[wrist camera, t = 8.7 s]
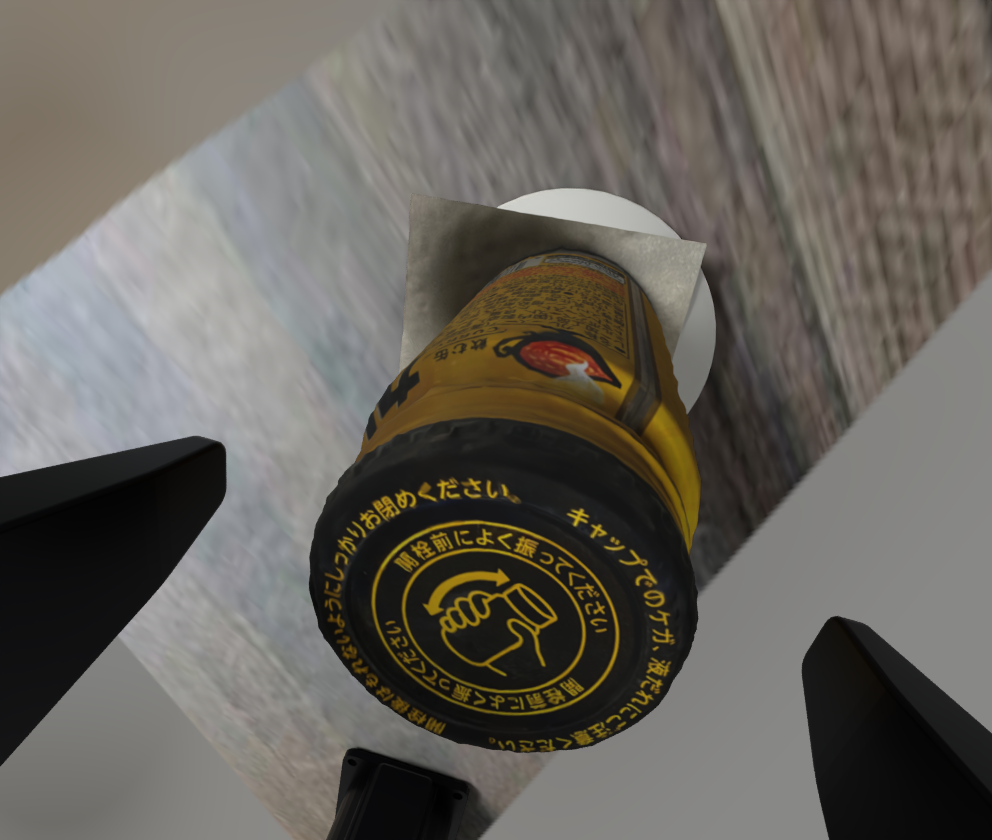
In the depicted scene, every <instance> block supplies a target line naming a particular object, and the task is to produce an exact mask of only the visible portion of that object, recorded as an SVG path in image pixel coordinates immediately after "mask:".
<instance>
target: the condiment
mask: <svg viewBox="0 0 992 840" xmlns="http://www.w3.org/2000/svg"><path fill="white" fill-rule="evenodd" d="M409 221H410V232H409V243H408V261H407V275H406V296H405V307H404V319H403V329H404V333H403V338H402V346H401V357H400V374H399V375H398V376H397V378H396V379H395V380H394V382H393V383H391V384H390V385H389V386H388V388H387V390H386V391H385V393H384V394H383V396H382V398H381V399H380V400H379V402H378V403H377V405H376V407H375V410H374V411H373V412H372V413H371V415H370V417H369V420H368V424H367V427H366V430H365V433H364V437H363V442H362V448H361V452H360V453H359V455H358V457H357V459H356V461H355V463H354V464H353V465H352V466H350V467H349V468H348V469H347V470H346V471H345V472H344V474H343V475H342V476H341V477H340V478H339V480H338V486H337V487H336V488H335V489H334V490H333V491H332V492H331V493H330V494H329V496H328V497H327V499H326V504H325V505H324V508H323V512H322V514H321V515H320V517H319V518H318V521H317V523H316V527H315V530H314V539H313V541H312V545H311V551H310V557H309V558H310V578H309V591H310V595H311V599H312V602H313V606H314V610H315V613H316V616H317V619H318V627H319V629H320V631H321V632H322V634H323V637H324V639H325V640H326V641H327V642H328V643H329V644H330V646H331V647H332V649H333V650H334V652H335V653H336V655H337V656H338V657H339V659H340V660H341V661H342V663H343V664H344V665H345V667H346V668H347V669H348V670H349V672H350V673H351V675H352V676H354V677H355V678H356V679H357V680H358V681H359V682H360V683H361V684H362V685H363V686H364V687H365V688H366V690H367V691H368V692H369V693H370V694H371V695H373V696H374V697H376V698H377V699H378V700H379V701H380V702H381V703H382V704H383V705H386V706H388V707H389V708H390V709H392V710H393V711H394V712H395V713H397V714H399V715H400V716H402V717H403V718H405V719H406V720H408V721H409V722H411V723H413V724H415V725H416V726H418V727H421V728H424V729H426V730H428V731H430V732H432V733H434V734H436V735H438V736H441V737H444V738H446V739H449V740H452V741H454V742H456V743H458V744H469V745H473V746H478V747H482V748H486V749H491V750H503V751H506V750H509V751H513V752H516V753H522V752H525V753H530V752H551V751H556V750H572V749H579V748H583V747H588V746H593V745H595V744H597V743H599V742H601V741H603V740H605V739H608V738H609V737H612V736H614V735H616V734H618V733H620V732H622V731H624V730H626V729H628V728H629V727H631V726H632V725H634V724H636V723H637V722H639V721H640V720H641V719H643V718H644V717H645V716H646V715H648V714H649V713H650V712H651V711H652V710H654V709H655V708H656V707H657V706H658V705H659V704H660V702H661V701H662V700H663V698H664V697H665V695H666V694H667V692H668V691H669V688H670V686H671V684H672V682H673V680H674V679H675V677H676V676H677V674H678V673H679V671H680V670H681V669H682V666H683V663H684V661H685V660H686V658H687V657H688V654H689V652H690V649H691V647H692V642H693V641H694V634H695V632H696V630H697V622H698V611H697V595H698V591H697V588H696V585H695V577H694V571H693V568H692V565H691V561H690V549H691V547H692V539H693V535H694V532H695V530H696V526H697V523H698V511H699V506H700V500H701V477H700V473H699V470H698V465H697V461H696V455H695V451H694V439H693V436H692V433H691V431H690V429H689V427H688V426H689V418H688V416H687V414H686V408H685V405H684V403H683V402H682V400H681V399H680V396H679V394H678V380H677V379H676V377H675V376H674V374H673V368H674V366H673V364H672V360H673V356H674V353H675V349H676V346H677V343H678V339H679V336H680V332H681V329H682V326H683V322H684V319H685V316H686V313H687V310H688V307H689V303H690V299H691V297H692V293H693V290H694V286H695V283H696V280H697V277H698V273H699V270H700V266H701V263H702V259H703V256H704V252H705V249H706V245H707V244H705V243H699V242H693V241H687V240H682V239H676V238H670V237H664V236H659V235H653V234H648V233H642V232H636V231H628V230H623V229H618V228H613V227H607V226H601V225H596V224H589V223H583V222H578V221H572V220H565V219H559V218H554V217H547V216H541V215H534V214H528V213H520V212H516V211H511V210H506V209H500V208H494V207H488V206H483V205H478V204H471V203H464V202H458V201H450V200H445V199H439V198H434V197H428V196H422V195H416V194H411V200H410V216H409Z"/></svg>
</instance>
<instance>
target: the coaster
mask: <svg viewBox="0 0 992 840" xmlns="http://www.w3.org/2000/svg"><path fill="white" fill-rule="evenodd" d="M497 208H500V209H506V210H511V211H516V212H520V213H528V214H534V215H541V216H547V217H554V218H559V219H565V220H572V221H578V222H583V223H589V224H596V225H601V226H607V227H613V228H618V229H623V230H628V231H636V232H642V233H648V234H653V235H659V236H664V237H670V238H676V239H681V238H680V237H679V236H678V235H677V234H676V232H675V231H674V230H673V229H672V228H670V227H669V226H668V225H667V224H666V223H665V222H664V221H663V220H662V219H660V218H659V217H658V216H656V215H655V214H653V213H652V212H650V211H649V210H647V209H646V208H644V207H643V206H641V205H639V204H637V203H635V202H633V201H631V200H628V199H626V198H624V197H621V196H618V195H615V194H612V193H608V192H605V191H600V190H594V189H587V188H557V189H549V190H542V191H538V192H535V193H531V194H527V195H524V196H521V197H519V198H517V199H514V200H512V201H510V202H507V203H505V204H503V205H501V206H499V207H497ZM715 339H716V321H715V312H714V304H713V301H712V297H711V293H710V289H709V286H708V283H707V281H706V279H705V276H704V274H703V272H702V269H701V267H700V270H699V273H698V277H697V280H696V283H695V286H694V290H693V293H692V297H691V299H690V303H689V307H688V310H687V313H686V316H685V319H684V322H683V326H682V329H681V332H680V336H679V339H678V343H677V346H676V349H675V353H674V356H673V360H672V364H673V366H674V368H673V374H674V376H675V377H676V379H677V380H678V394H679V396H680V399H681V400H682V402H683V403H684V405H685V408H686V414H688V413H689V411H690V410H691V408H692V407H693V405H694V404H695V402H696V401H697V399H698V397H699V395H700V393H701V391H702V389H703V387H704V385H705V383H706V380H707V377H708V374H709V371H710V368H711V365H712V361H713V355H714V349H715Z"/></svg>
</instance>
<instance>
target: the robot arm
mask: <svg viewBox="0 0 992 840" xmlns="http://www.w3.org/2000/svg"><path fill="white" fill-rule="evenodd" d="M225 493H226V449H225V446H224V445H223V444H222V443H221V442H219V441H215V440H212V439H208V438H205V437H201V436H191V437H187V438H182V439H177V440H172V441H168V442H163V443H158V444H154V445H149V446H144V447H140V448H135V449H130V450H126V451H121V452H116V453H112V454H107V455H102V456H97V457H93V458H88V459H83V460H79V461H74V462H69V463H65V464H60V465H55V466H51V467H46V468H41V469H37V470H32V471H27V472H22V473H18V474H13V475H8V476H4V477H0V766H1V765H2V764H3V763H4V762H5V761H6V760H7V758H8V757H9V756H10V755H11V754H12V753H13V752H14V751H15V749H16V748H17V747H18V746H19V745H20V744H21V743H22V742H23V740H24V739H25V738H26V737H27V736H28V735H29V734H30V733H31V732H32V730H33V729H34V728H35V727H36V726H37V725H38V724H39V723H40V721H41V720H42V719H43V718H44V717H45V716H46V715H47V714H48V713H49V711H50V710H51V709H52V708H53V707H54V706H55V705H56V704H57V702H58V701H59V700H60V699H61V698H62V696H64V694H65V693H66V692H67V691H68V690H69V689H70V688H71V687H72V686H73V685H74V683H75V682H76V681H77V680H78V679H79V678H80V677H81V676H82V674H83V673H84V672H85V671H86V670H87V669H88V668H89V667H90V665H91V664H92V663H93V662H94V661H95V660H96V659H97V658H98V657H99V655H100V654H101V653H102V652H103V651H104V650H105V649H106V648H107V646H108V645H109V644H110V643H111V642H112V641H113V639H114V638H115V637H116V636H117V635H118V634H119V633H120V632H121V631H122V630H123V629H124V627H125V626H126V625H127V624H128V623H129V622H130V621H131V620H132V618H133V617H134V616H135V615H136V614H137V613H138V612H139V611H140V609H141V608H142V607H143V606H144V605H145V604H146V603H147V602H148V600H149V599H150V598H151V597H152V596H153V595H154V594H155V592H156V591H157V590H158V589H159V588H160V587H161V585H162V584H163V583H164V582H165V580H166V579H167V578H168V576H169V575H170V574H171V573H172V571H173V570H174V569H175V567H176V566H177V564H178V563H179V562H180V560H181V559H182V557H183V556H184V555H185V553H186V552H187V551H188V549H189V548H190V546H191V545H192V544H193V542H194V541H195V539H196V538H197V537H198V535H199V534H200V533H201V531H202V530H203V528H204V527H205V526H206V524H207V523H208V521H209V520H210V519H211V517H212V516H213V515H214V513H215V512H216V510H217V509H218V508H219V506H220V505H221V503H222V501H223V499H224V497H225ZM802 680H803V687H804V695H805V702H806V711H807V719H808V726H809V734H810V742H811V750H812V758H813V765H814V771H815V778H816V784H817V788H818V793H819V798H820V803H821V807H822V811H823V815H824V819H825V824H826V828H827V832H828V837H829V840H992V733H991V732H990V731H988V730H987V729H986V728H985V727H984V726H983V725H982V724H980V723H979V722H978V721H977V720H976V719H975V718H973V717H972V716H971V715H970V714H969V713H968V712H967V711H965V710H964V709H963V708H962V707H961V706H960V705H958V704H957V703H956V702H955V701H954V700H953V699H952V698H950V697H949V696H948V695H947V694H946V693H945V692H944V691H942V690H941V689H940V688H939V687H938V686H936V684H934V683H933V682H932V681H931V680H930V679H928V678H927V677H926V676H925V675H924V674H923V673H922V672H920V671H919V670H918V669H917V668H916V667H915V666H914V665H912V664H911V663H910V662H909V661H908V660H907V659H905V658H904V657H903V656H902V655H901V654H900V653H899V652H897V651H896V650H895V649H894V648H893V647H891V645H889V644H888V643H887V642H886V641H885V640H884V639H882V638H881V637H880V636H879V635H878V634H876V632H874V631H873V630H872V629H871V628H870V627H869V626H867V625H865V624H863V623H861V622H857V621H854V620H850V619H846V618H842V617H839V616H835V617H831V618H830V619H828V620H827V622H826V623H825V624H824V626H823V627H822V629H821V630H820V632H819V634H818V635H817V637H816V638H815V640H814V642H813V643H812V645H811V646H810V648H809V650H808V651H807V653H806V655H805V657H804V659H803V663H802ZM468 795H469V788H468V786H467V785H465V784H464V783H461V782H458V781H455V780H452V779H449V778H446V777H443V776H440V775H436V774H433V773H430V772H427V771H424V770H421V769H418V768H415V767H411V766H408V765H405V764H402V763H399V762H396V761H393V760H389V759H386V758H383V757H380V756H377V755H374V754H371V753H367V752H364V751H361V750H358V749H354V748H352V749H348V750H347V752H346V754H345V756H344V759H343V764H342V771H341V778H340V786H339V793H338V801H337V808H336V815H335V820H334V822H333V825H332V827H331V830H330V832H329V834H328V837H327V839H326V840H455V839H456V836H457V832H458V829H459V826H460V822H461V819H462V816H463V812H464V809H465V806H466V803H467V799H468Z"/></svg>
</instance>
